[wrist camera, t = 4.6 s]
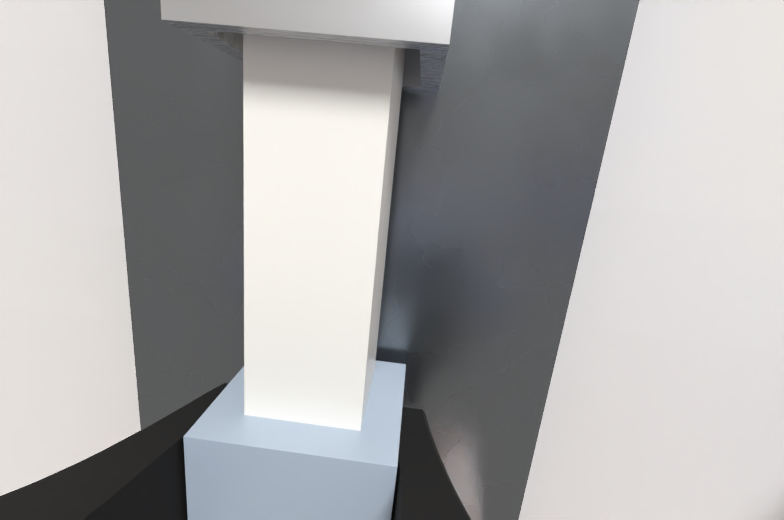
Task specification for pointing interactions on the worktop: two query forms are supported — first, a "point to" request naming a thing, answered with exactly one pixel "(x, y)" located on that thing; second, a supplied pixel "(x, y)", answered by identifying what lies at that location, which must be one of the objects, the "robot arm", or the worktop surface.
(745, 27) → the worktop surface
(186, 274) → the sleeve base
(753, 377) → the worktop surface
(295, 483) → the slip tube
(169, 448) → the robot arm
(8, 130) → the worktop surface
